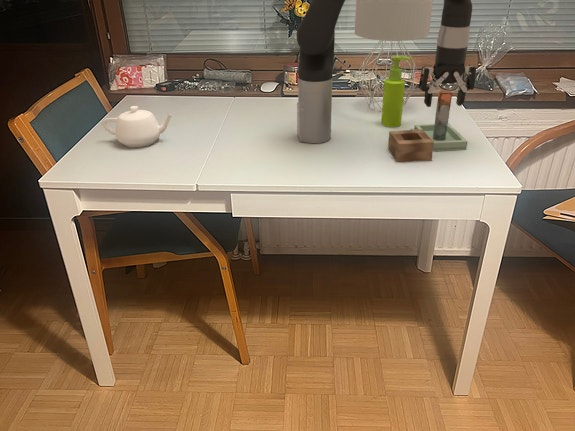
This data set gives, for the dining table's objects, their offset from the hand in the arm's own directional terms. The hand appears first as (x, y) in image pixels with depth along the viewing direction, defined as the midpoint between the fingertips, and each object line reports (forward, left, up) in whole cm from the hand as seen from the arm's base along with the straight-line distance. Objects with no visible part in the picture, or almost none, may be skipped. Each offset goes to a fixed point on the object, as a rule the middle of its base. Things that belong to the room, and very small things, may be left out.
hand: (443, 105), depth 143 cm
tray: (0, 0, -10) cm, 10 cm away
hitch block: (-11, -8, -10) cm, 17 cm away
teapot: (-83, +11, -11) cm, 84 cm away
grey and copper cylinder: (0, 0, -9) cm, 9 cm away
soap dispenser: (-9, +15, -10) cm, 20 cm away
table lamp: (-7, +31, -10) cm, 33 cm away
